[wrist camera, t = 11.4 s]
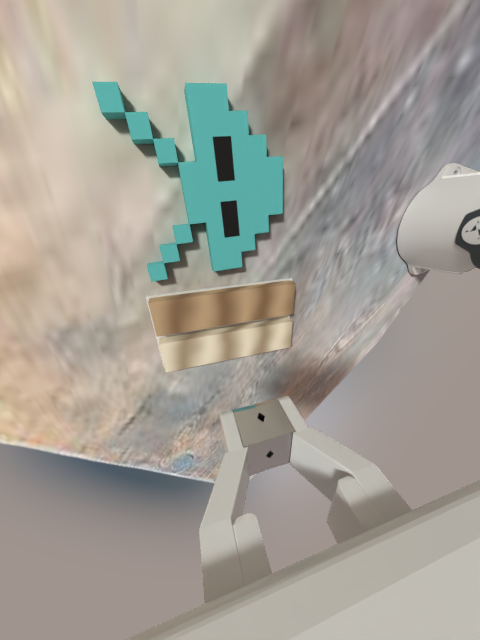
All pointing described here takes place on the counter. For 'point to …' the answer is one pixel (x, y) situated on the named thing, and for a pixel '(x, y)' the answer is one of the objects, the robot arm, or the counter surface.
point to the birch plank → (225, 343)
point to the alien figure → (211, 173)
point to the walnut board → (221, 307)
